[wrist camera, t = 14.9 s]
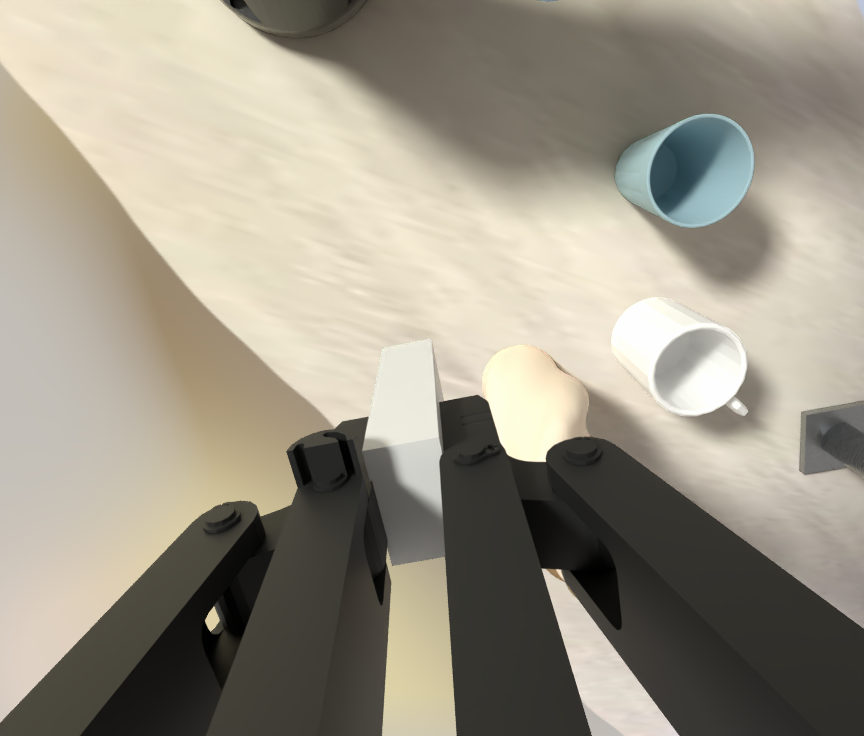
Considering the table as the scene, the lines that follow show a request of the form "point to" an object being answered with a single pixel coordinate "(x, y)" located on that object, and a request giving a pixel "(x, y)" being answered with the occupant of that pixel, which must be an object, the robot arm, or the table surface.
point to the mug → (680, 357)
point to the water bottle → (533, 404)
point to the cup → (689, 170)
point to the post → (833, 438)
